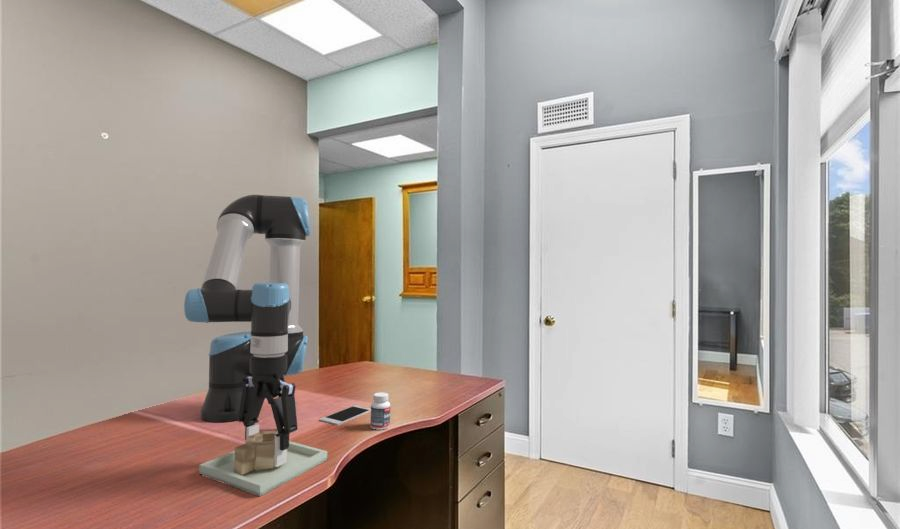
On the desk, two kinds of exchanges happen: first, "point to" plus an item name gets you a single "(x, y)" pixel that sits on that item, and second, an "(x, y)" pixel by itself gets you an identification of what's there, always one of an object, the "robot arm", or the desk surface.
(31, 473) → the desk surface
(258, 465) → the tan notched block
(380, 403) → the pill bottle
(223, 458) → the tray
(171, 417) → the desk surface
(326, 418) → the smartphone
